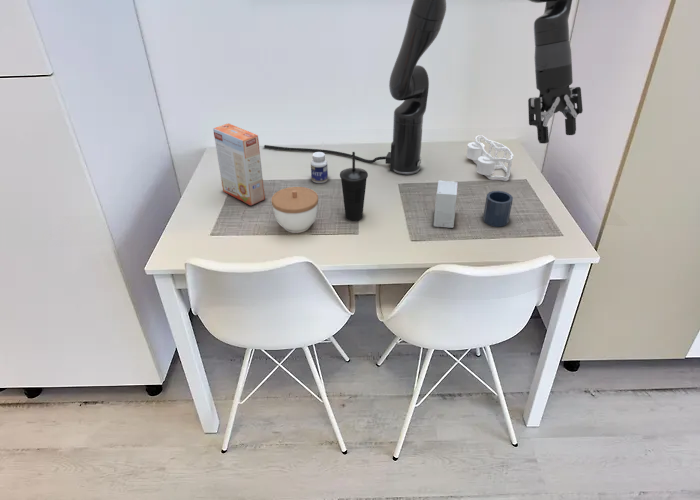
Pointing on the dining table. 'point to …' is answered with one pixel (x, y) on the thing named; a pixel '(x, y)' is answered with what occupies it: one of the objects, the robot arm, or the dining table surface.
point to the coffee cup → (497, 208)
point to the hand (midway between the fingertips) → (557, 138)
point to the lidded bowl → (295, 208)
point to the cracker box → (239, 163)
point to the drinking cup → (353, 191)
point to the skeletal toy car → (489, 158)
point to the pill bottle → (319, 168)
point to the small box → (445, 204)
